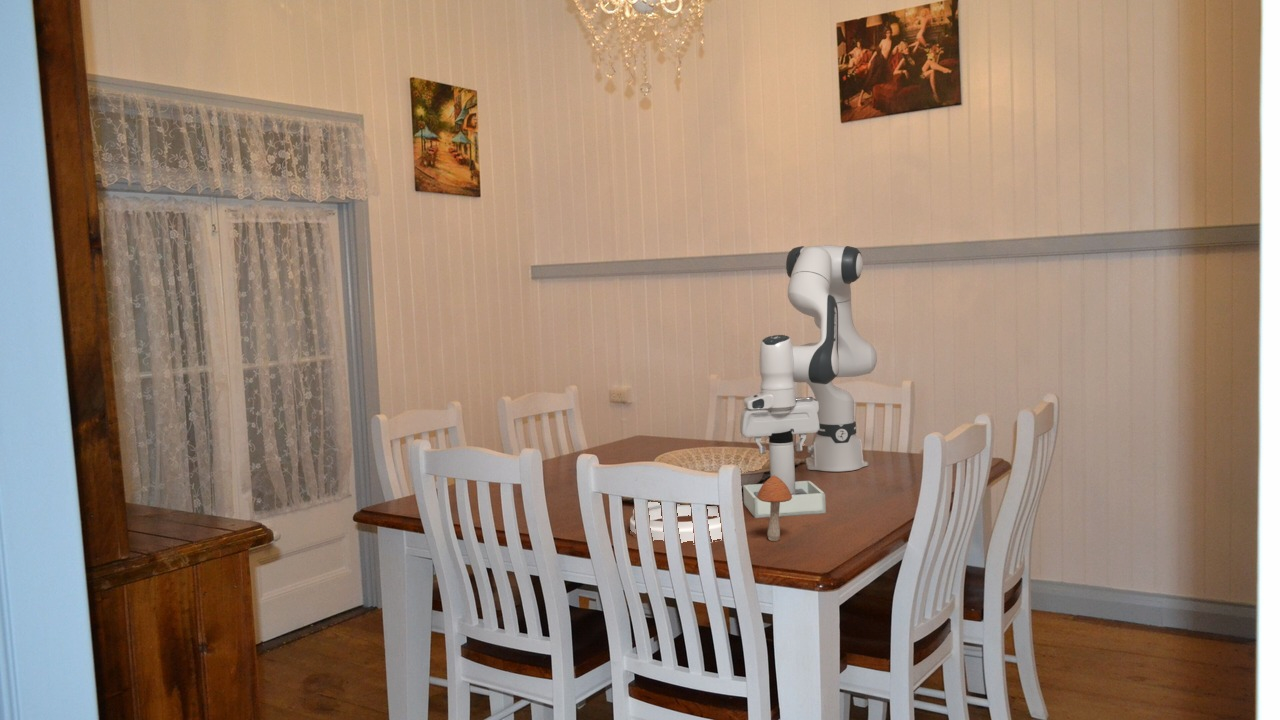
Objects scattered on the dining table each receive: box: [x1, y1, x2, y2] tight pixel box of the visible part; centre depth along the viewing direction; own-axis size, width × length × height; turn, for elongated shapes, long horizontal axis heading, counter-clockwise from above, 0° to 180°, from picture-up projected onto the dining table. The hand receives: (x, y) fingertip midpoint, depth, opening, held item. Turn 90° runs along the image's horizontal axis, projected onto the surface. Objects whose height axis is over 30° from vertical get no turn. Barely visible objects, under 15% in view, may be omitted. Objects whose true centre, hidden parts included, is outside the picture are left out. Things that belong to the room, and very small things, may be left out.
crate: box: [742, 480, 827, 519], centre depth 245 cm, size 16×18×5 cm
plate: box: [629, 501, 723, 543], centre depth 229 cm, size 27×27×6 cm
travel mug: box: [768, 429, 796, 495], centre depth 244 cm, size 6×7×20 cm
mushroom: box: [757, 475, 792, 542], centre depth 215 cm, size 8×8×15 cm
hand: (780, 452), depth 244 cm, fingers open, 8 cm apart
